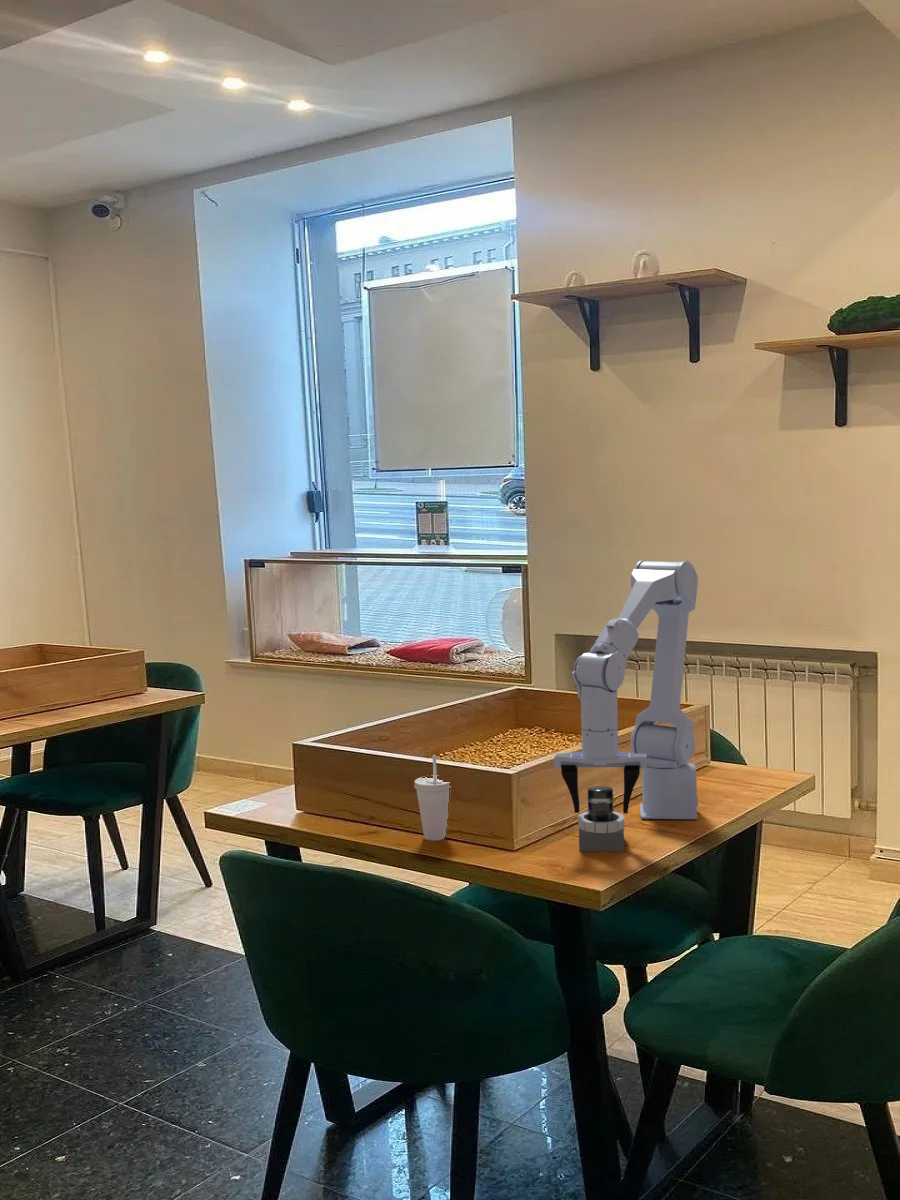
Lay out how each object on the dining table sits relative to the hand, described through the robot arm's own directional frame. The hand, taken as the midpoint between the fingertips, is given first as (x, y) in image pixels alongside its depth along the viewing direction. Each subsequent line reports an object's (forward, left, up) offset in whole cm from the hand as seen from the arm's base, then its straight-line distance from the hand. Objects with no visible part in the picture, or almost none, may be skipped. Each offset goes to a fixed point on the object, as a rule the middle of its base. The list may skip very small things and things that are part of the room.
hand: (601, 811), depth 181 cm
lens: (0, 0, -2) cm, 2 cm away
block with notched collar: (0, 0, -5) cm, 5 cm away
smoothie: (+28, -2, -6) cm, 28 cm away
